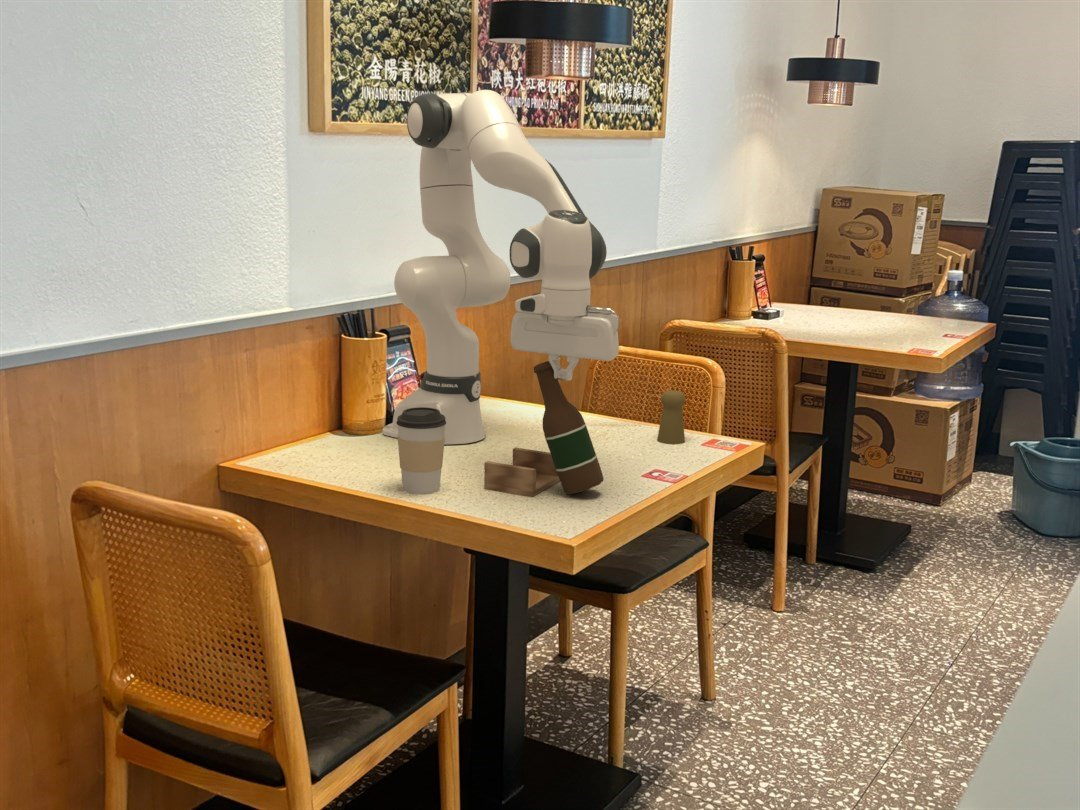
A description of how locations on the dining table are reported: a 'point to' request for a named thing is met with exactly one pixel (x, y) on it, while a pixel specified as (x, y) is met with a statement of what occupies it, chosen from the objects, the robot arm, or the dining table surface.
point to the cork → (672, 418)
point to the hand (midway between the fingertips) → (562, 379)
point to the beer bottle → (567, 436)
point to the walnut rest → (522, 473)
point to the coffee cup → (421, 449)
